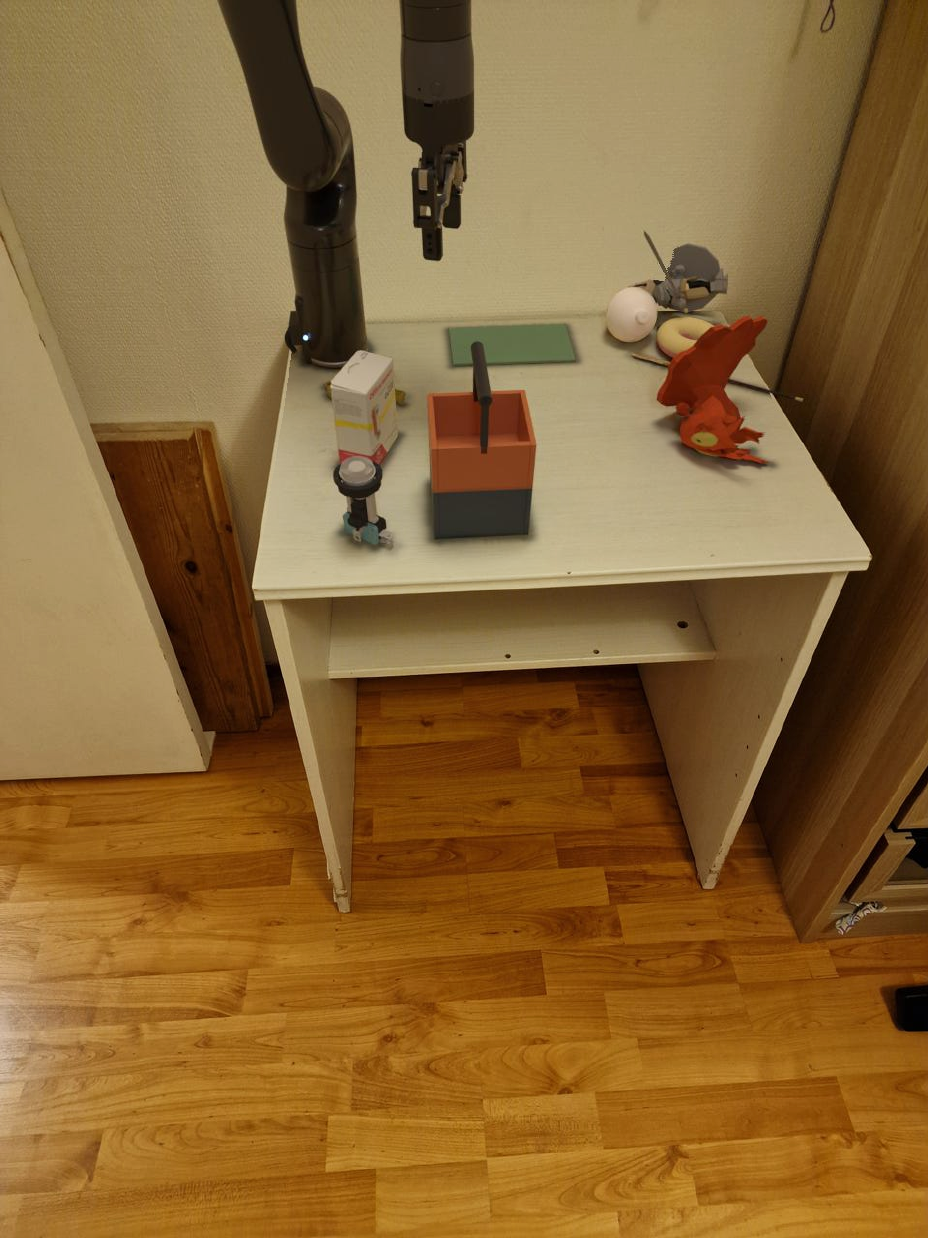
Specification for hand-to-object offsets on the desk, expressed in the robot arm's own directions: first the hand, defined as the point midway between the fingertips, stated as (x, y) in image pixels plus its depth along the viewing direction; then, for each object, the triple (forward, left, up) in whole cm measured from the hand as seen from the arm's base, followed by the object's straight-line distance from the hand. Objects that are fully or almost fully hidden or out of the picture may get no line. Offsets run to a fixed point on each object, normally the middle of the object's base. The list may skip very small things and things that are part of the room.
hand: (442, 242), depth 95 cm
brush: (+28, +9, -21) cm, 36 cm away
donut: (+33, +7, -20) cm, 39 cm away
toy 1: (+41, +15, -11) cm, 45 cm away
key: (-11, +1, -22) cm, 24 cm away
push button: (-10, -27, -22) cm, 36 cm away
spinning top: (+28, +20, -21) cm, 40 cm away
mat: (+11, +13, -21) cm, 27 cm away
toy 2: (+34, -5, -14) cm, 37 cm away
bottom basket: (+3, -23, -21) cm, 32 cm away
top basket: (+3, -23, -14) cm, 27 cm away
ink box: (-10, -11, -22) cm, 26 cm away
